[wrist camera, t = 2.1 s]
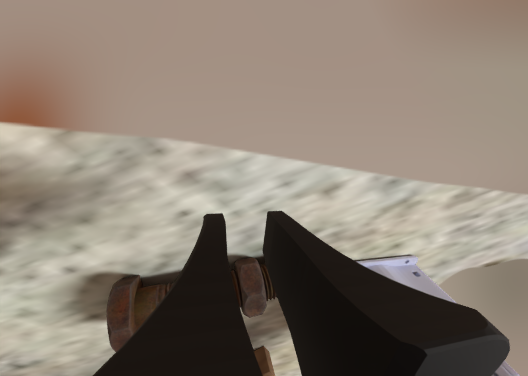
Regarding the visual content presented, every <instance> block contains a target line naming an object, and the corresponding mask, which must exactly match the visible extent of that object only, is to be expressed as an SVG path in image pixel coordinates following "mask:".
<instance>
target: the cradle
mask: <svg viewBox="0 0 528 376" xmlns="http://www.w3.org/2000/svg"><path fill="white" fill-rule="evenodd" d="M254 353H255V356H256V359H257V362H258V364H259V367H260V369H261V372H262V375H263V376H275V374H274V370H273V366H272V362H271V358H270V354H269V351H268V350H267V349H266V348H265V347H264V346H263V347H261V348H259V349H257V350H255V351H254Z"/></svg>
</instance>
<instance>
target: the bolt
mask: <svg viewBox="0 0 528 376" xmlns="http://www.w3.org/2000/svg"><path fill="white" fill-rule="evenodd" d="M230 273H231V277H232V281H233V285H234V289H235V293H236V296H237V300H238V304H239V307H240V308H241V309H242V312H243V314H244V315H246V316H248V317H249V318H250V317H253V316H257V315H261V314H263V312H264V310H265V308H266V301H268V299H270V300H271V299H272V298H273V299H275V297H277V295H276V293H275V290H274V288H273V285H272V282H271V280H270V277H269V274H268V271H267V267H266V263H265V264H261V265H259V263H258V261H257V260H256V259H255V258H252V257H250V258H244V259H239V260H237V261H236V262H235V271H234V270H232V271H231V272H230ZM173 284H174V282H173V283H172V285H173ZM172 285H171V284H170V283H168V285H166V284H163V285H161V284H157V285H152V286H147V287H143V285H142V281H141V278H140V275H137V276H132V277H127V278H123V279H121V280H119V281H117V282H116V283H115V284H114V285H113V287H112V290H111V293H110V296H109V300H108V305H107V327H108V334H109V340H110V344H111V347H112V348H113V350H114V351H115V352H117V351H118V350H119V349H120V348H121V347H122V346H123V345H124V344H125V343H126V342H127V341H128V339H129V338H130V337H131V336H132V335H133V334H134V333H135V332H136V330H137V329H138V328H139V327H140V326H141V325H142V323H143V322H144V321H145V320H146V319H147V318H148V317H149V315H150V314H151V313H152V312H153V311H154V309H155V308H156V307H157V306H158V304H159V303H160V302H161V300H162V299H163V298H164V296H165V295H166V294H167V292H168V291H169V289H170V288H171V287H172Z"/></svg>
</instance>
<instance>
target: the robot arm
mask: <svg viewBox="0 0 528 376" xmlns="http://www.w3.org/2000/svg"><path fill="white" fill-rule="evenodd" d="M263 254H264V259H265V263H266V267H267V271H268V274H269V277H270V280H271V282H272V285H273V288H274V290H275V293H276V295H277V298H278V300H279V303H280V306H281V308H282V311H283V313H284V316H285V319H286V321H287V324H288V327H289V330H290V333H291V336H292V340H293V344H294V347H295V351H296V355H297V358H298V362H299V366H300V370H301V374H302V376H520V375H519V374H518V373H517V372H516V371H515V370H514V369H513V368H512V367H511V366H509V364H507V362H506V361H504V360H505V359H506V357H507V355H508V353H509V351H510V346H509V340H508V339H507V338H506V337H505V336H504V335H503V334H502V333H501V332H500V331H499V330H498V329H497V328H496V327H495V326H493V325H492V324H491V323H490V322H489V321H488V320H487V319H486V318H485V317H484V316H482V315H481V314H480V313H479V312H478V311H477V310H475V309H472V308H469V307H466V306H463V305H460V304H457V303H456V302H455V301H454V300H453V299H452V298H451V297H450V296H449V295H448V294H447V293H446V292H445V291H443V290H442V289H441V288H440V287H439V286H438V285H437V284H436V283H435V282H434V281H433V280H432V279H431V278H430V277H429V276H427V275H426V274H425V273H424V272H423V271H422V270H421V269H420V268H419V267H418V266H417V265H416V263H417V261H418V258H417V257H416V256H414V255H413V256H404V257H394V258H384V259H375V260H365V261H354V260H352V259H350V258H348V257H347V256H345V255H343V254H342V253H340V252H338V251H337V250H335V249H334V248H332V247H331V246H329V245H328V244H326V243H325V242H323V241H322V240H320V239H319V238H317V237H316V236H315V235H313V234H312V233H311V232H309V231H308V230H307V229H305V228H304V227H303V226H301V225H300V224H299V223H297V222H296V221H295V220H293V219H292V218H291V217H290V216H288V215H287V214H285V213H284V212H282V211H269V212H267V220H266V228H265V236H264V244H263ZM93 376H263V375H262V372H261V369H260V367H259V364H258V362H257V359H256V356H255V353H254V350H253V347H252V344H251V342H250V339H249V336H248V333H247V330H246V327H245V324H244V320H243V317H242V314H241V310H240V307H239V304H238V300H237V296H236V293H235V289H234V285H233V281H232V277H231V273H230V268H229V264H228V257H227V241H226V224H225V219H224V216H223V214H222V213H220V214H206V215H205V216H204V221H203V226H202V229H201V232H200V235H199V237H198V240H197V242H196V245H195V247H194V249H193V251H192V253H191V255H190V257H189V259H188V261H187V263H186V264H185V266H184V268H183V270H182V271H181V273H180V274H179V276H178V278H177V279H176V281H175V282H174V284H173V285H172V287H171V288H170V289H169V291H168V292H167V294H166V295H165V296H164V298H163V299H162V300H161V302H160V303H159V304H158V306H157V307H156V308H155V309H154V311H153V312H152V313H151V314H150V315H149V317H148V318H147V319H146V320H145V321H144V322H143V323H142V325H141V326H140V327H139V328H138V329H137V330H136V332H135V333H134V334H133V335H132V336H131V337H130V338H129V339H128V341H127V342H126V343H125V344H124V345H123V346H122V347H121V348H120V349H119V350H118V351H117V352H116V353H115V354H114V355H113V356H112V357H111V358H110V359H109V360H108V361H107V362H106V363H105V364H104V365H103V366H102V367H101V368H100V369H99V370H98V371H97V372H96V373H95V374H94V375H93Z"/></svg>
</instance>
